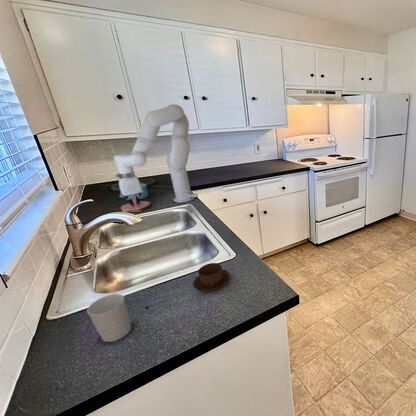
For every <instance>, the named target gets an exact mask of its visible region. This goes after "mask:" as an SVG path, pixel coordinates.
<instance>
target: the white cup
mask: <svg viewBox="0 0 416 416" xmlns="http://www.w3.org/2000/svg"><path fill="white" fill-rule="evenodd" d="M86 312H87V315H88V317H89V319H90V321H91V322H92V325H93V326H94V328H95V330H96V332H97V333H98V334H99V337H100V338H101V340H102V341H103V342H105V343H111V342H116V341H118V340H120V339H123V338H124V337H125V336H127V334H129V333H130V331H131V330H132V323H131V318H130V315H129V309H128V307H127V303H126V299H125V297H124V295H123V294H118V293H115V294H110V295H109V294H108V295H106V296H103V297H101V298H99V299H97V300H95V301H94V302H92V303H91V304H90V305H89V306H88V307H87V309H86Z"/></svg>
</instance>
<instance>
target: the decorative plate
mask: <svg viewBox="0 0 416 416" xmlns="http://www.w3.org/2000/svg"><path fill="white" fill-rule="evenodd" d="M138 180H139V182H140V184H146V186H147V188H150V187H151V186H154V185H156V183H157V182H156V179H153V178H138ZM110 190H111V191H113V192H121V191H120V187H119V182H117V183H114V184H112V185H111V186H110Z"/></svg>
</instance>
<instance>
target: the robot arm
mask: <svg viewBox="0 0 416 416" xmlns="http://www.w3.org/2000/svg"><path fill="white" fill-rule="evenodd" d="M172 123H173V127H172V133H171V138H170V146H171V149H170V152H169V153H168V154H167V156H166V163H167V167H168V171H169V174H170V178H171V183H172V188H173V191H174V195H175V197H174V198H173V202H175V203H178V204H179V203H189V202H191V201H193V200H195V198H199V197H198V196H199V194H198V193H194V192H193V191H192V190H191V185H190V181H189V176H188V172H187V167H186V166H187V164H188V160H189V154H190V148H191V144H190V141H189V140H188V138H189V131H190V123H189V119H188V116H187V115H186V113H185V110H184V109H183V108H182V106H180V105H178V104H169V105H167V106H165V107H161V108H158V109H156V110H149V111H148V112H147V113H146V114H145V117H144V120H143V122H142V125H141V127H140V130H139V133H138V135H137V138H136V141H135V143H134V146H133V148H132V151H131V153H130V154H128V153H119V154H114V156H113V160H114V164H115V167H116V170H117V174H116V175H115V178H118V183H119V187H120V191H119V192H120V193H119V198H123V199H125V198H126V199H128V200H127V201H128V203H129V204H130V205H132V206H133V201H132V199H131V198H130V195H133V194H135V195H136V199H137V203H138V204H140V201H141V199H139V198H140V196H141V194H143V193H144V192H145V191H144V190H143V189H142V188H141V185H140V182H139V180H138V179H139V178H138V176H136V174H135V171H134V167H143V166H145V165H146V163H147V155H148V152H149V150H150V148H151V147H152V145H153V144H154V143H155V142H156V139H157V137H158V134H159V131H160V129H161V127H162V126H166V125H168V124H169V125H170V124H172ZM126 199H125V200H126Z"/></svg>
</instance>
